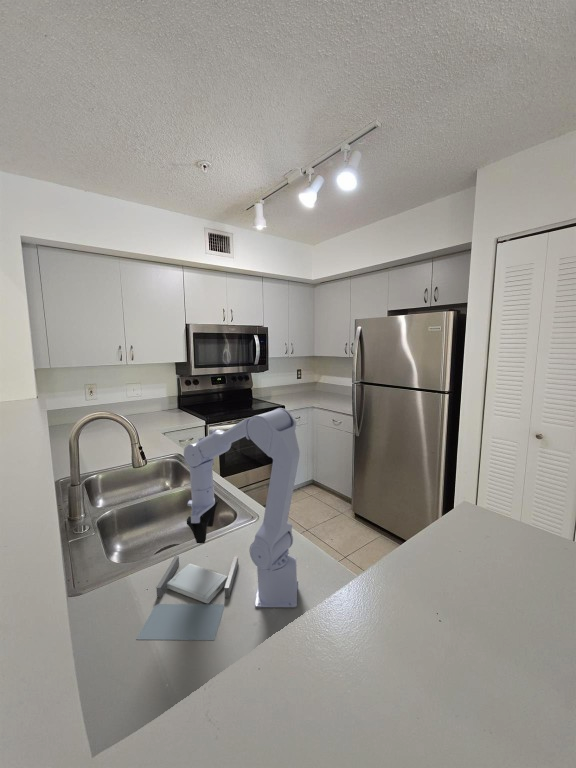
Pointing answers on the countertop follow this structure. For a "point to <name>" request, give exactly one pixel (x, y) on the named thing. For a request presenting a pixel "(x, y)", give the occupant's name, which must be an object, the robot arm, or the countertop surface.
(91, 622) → the countertop surface
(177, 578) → the hard drive
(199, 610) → the mat
